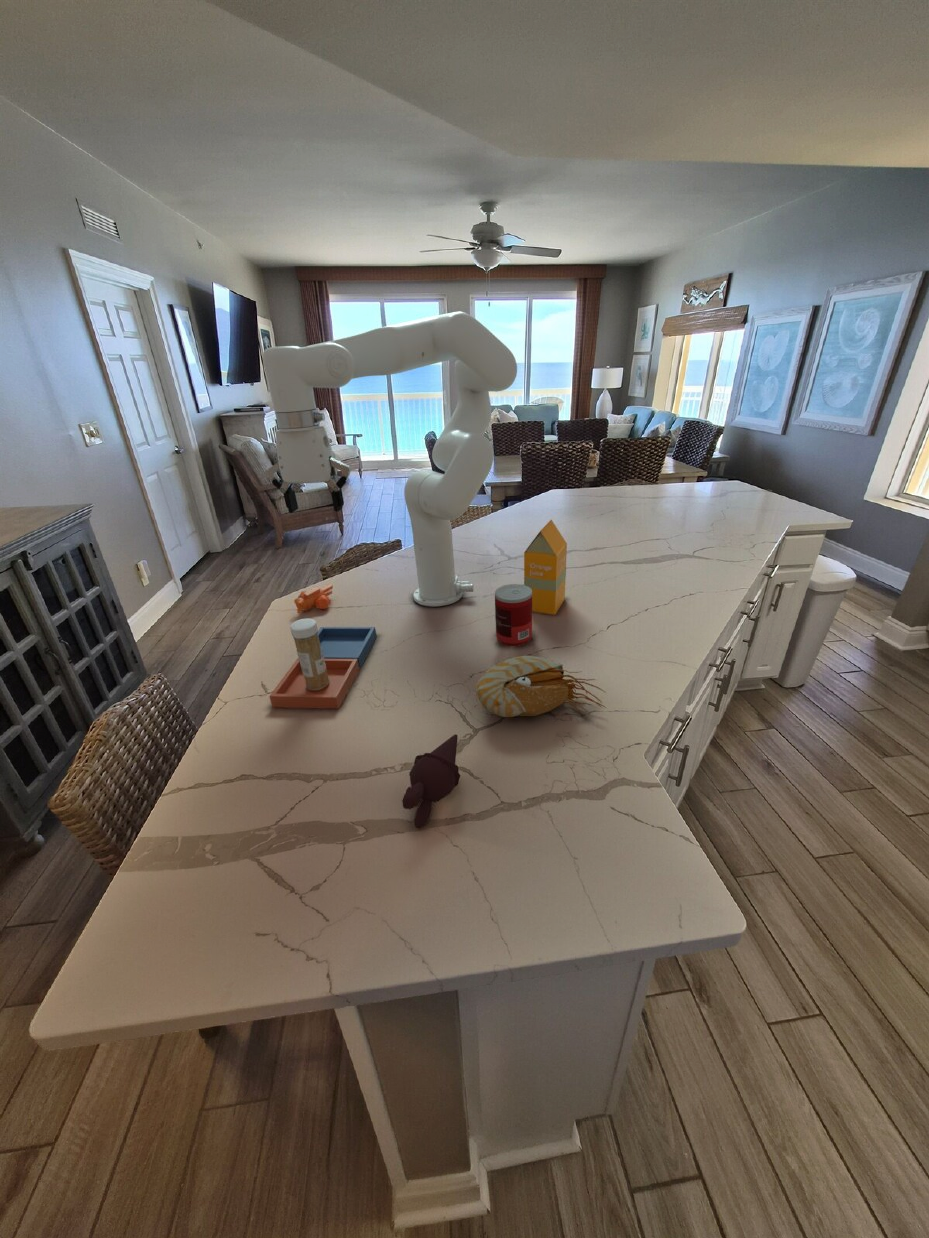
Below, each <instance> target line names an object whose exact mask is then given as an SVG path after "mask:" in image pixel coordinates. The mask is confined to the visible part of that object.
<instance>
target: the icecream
mask: <svg viewBox="0 0 929 1238" xmlns="http://www.w3.org/2000/svg"><path fill="white" fill-rule="evenodd" d="M458 738H459V736H458V734H456V733H455V734H453V735H451V737H449V738H447V739H446V740H445V741H444V742H442V743H441V744H440V745H438V747H436V748H434V749H433V750H432V751H431V752H425V753H424V754H418V755H416V756H415V758H414V762H413V765H412V768H411V769H410V771H409V772H408V776H409V783H410V786H408V787H407V788H406V789H405V793H404V794H403V796H402V800H401V803H402V804H401V805H402V808H403V809H405V810H412V809H414V808H416V807H417V806H418V805H419V806H418V807H417V808H416V809H417V810H416V813H415V816H414V820H413V826H414V828H415V829H419V830H420V829H422V828H424V827H425V826H426V825H427V824H428V822H429V821H430V818H431V815H432V810H433V803H437V802H440V801H441V800H443V799H444V798H445V797H448V796H449V795H450V794H451V793H453V790H454V789H455V788H456V787H458V785H459V783H460V779H461V773H460V768H459V766H458V764H456V759H457V746H458V740H459V739H458Z"/></svg>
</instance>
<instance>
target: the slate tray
mask: <svg viewBox="0 0 929 1238" xmlns="http://www.w3.org/2000/svg"><path fill="white" fill-rule="evenodd" d="M317 632H318V637H319V641H320V646H321V648H322V653H323V657H324V659H358V664H359V669H361V668H362V665H363V664H364V661H365V659H366V658H367V656H368V654H369V653H370V650H371V648H372V647H373V645H374V643H375V641H376V639H377V637H378V636H377V630H376V627H375V626H321V627H319V628H318V631H317Z"/></svg>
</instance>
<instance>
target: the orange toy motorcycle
mask: <svg viewBox="0 0 929 1238" xmlns="http://www.w3.org/2000/svg"><path fill="white" fill-rule="evenodd" d="M333 588H334V586H333V584H331V583H328V584H326V585H324V586H322V587H319V586H315V587H313V588H311V589H310V590H303V591H301V592H300V593H299V595H298V596H297V597H296V598H294V600H293V601H294V604H295V606H296V608H297V610H296V611H297V612H296V613H298V614H300V613H301V612H302V611H304V610H305V611H306V612H308V611H310V610H311V609H313V608H315V607H316V608H318V609H320V610H327V609H328V608H329V605H330V604H331V602H332V601H331V599H330V597H329V596H330V595H332V594H333Z"/></svg>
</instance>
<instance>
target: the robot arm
mask: <svg viewBox="0 0 929 1238" xmlns="http://www.w3.org/2000/svg"><path fill="white" fill-rule="evenodd" d="M262 361H263V365H264V366H263V367H264V370H265V371H264V372H265V375H266V380H267V384H268V388H269V392H270V397H271V401H272V406H273V410H274V415H275V420H276V423H277V430H275V445H276V446H275V447H276V455H277V461H278V462H276V463H275V464H273V465H272V466H270V467H269V468H268V469H266V470H265V472H264V473H265V475H266V476H267V478H268V479H269V480H270V482H271V484H272V485H273V486H274V487H275V488H277V489H278V490H279V493H281V494H283V498H284V503H285V507H286V508H287V510H288V513H289V514H293V513H295V512H296V511H298V510H299V505H298V499H297V496H296V491H295V490H294V489H292V488H293V487H294V484H319V483H326V484H327V486H328V487H330V488H331V490H332V491H331V492H330V494H331V499H332V504H333V510H334V512H340V511H341V510H342V509H343V508H344V505H345V500H344V494H343V488H344V486H345V485H346V483H347V482H348V481H349V477H350V474H351V471H352V466H351V465H348V464H347V463H345V462H342V461H340V460H338V459H336V458H335V456H334V452H333V448H332V444H331V442H330V439H329V435H328V433H327V430H326V428H325V426H320V424H321V422H323V421H326V415H325V413H324V412H319V409H317V405H316V398H315V394H314V389H313V388H318V389H340V388H342V387H345V386H346V385H347V384H350V382H351V380H354V379H359V378H365V377H377V376H378V377H379V376H391V375H397V374H401V373H405V372H408V371H412V370H416V369H420V368H424V367H428V366H432V365H434V364H435V365H436V364H438V363H442V362H448V361H449V362H451V361H455V363H454V367H453V374H454V375H453V376H454V380H455V384H456V388H457V405H456V407H455V409H454V410H453V413H452V415H451V417H450V419H448V422H447V423H446V425H445V426H444V428H443V430H442V432H441V433H440V435H439V436H438V439H437V440H436V441H435V443H434V446H433V448H432V452H431V457H432V461H433V463H434V465H435V466H436V467H437V468H438V469H439V470H441V471H443V472H444V473H442V472H438V471H434V470H429V469H423V470H417V471H415V472H414V473H412V474H411V475H410V476H409V477H408V478H407V480H406V482H405V485H404V489H403V492H404V493H403V494H404V495H403V496H404V501H405V505H406V509H407V512H408V516H409V520H410V525H411V531H412V541H413V542H412V543H413V550H414V559H415V568H416V569H415V570H416V576H417V585H418V586H417V587H418V588H416V589H415V591H414V592H413V600H414V602H416V603H417V604H419V605H421V606H425V607H435V608H436V607H444V606H448V605H451V604H454V603H456V602H458V601H459V600H460V599H462V597H463V595H464V593H463V592H466V593H471V592H474V584H473V583H470V581H469V580H464V581H462V580H460V579H459V576H458V575H456V569H455V558H454V557H455V555H454V544H453V543H454V541H453V529H452V523H451V521H454V520H456V519H459V518H460V517H462V515H464V513H465V512H466V511H467V510H468V508H469V507H470V506H471V504H472V503H473V501H474V499H475V498H476V496H477V494H478V493H479V491H480V489H481V488H482V486H483V484H484V482H485V481H486V479H487V477H488V476H489V474H490V472H491V470H492V467H493V463H494V457H495V452H494V447H493V444H492V442H491V441H490V440H489V439H488V437H486V436H485V433H486V431H487V430H488V428H489V426H490V424H491V420H492V404H491V398H490V393H489V392H497V393H498V392H504V391H505V390H507V389H509V388H510V387H511V386H512V385H513V384H514V382H515V380H516V378H517V374H518V364H517V361H516V357H515V356H514V354H513V352H512V351H511V349H509V347H507V345H505V344H504V343H503V342H502V341H501V339H499V338H498V337H497V336H495V334H494V333H492V332H491V330H489V328H487V327H486V326H485V325H484V324H483V323H482V322H480V321H479V320H477V318H475V317H474V316H472V315H470V314H468V312H464V311H452V312H449V313H447V312H446V313H442V314H437V315H431V316H426V317H422V318H418V319H414V320H408V321H404V322H399V323H394V324H388V325H385V326H381V327H377V328H375V329H374V328H373V329H371V330H368V331H365V332H362V333H359V334H355V335H351V336H347V337H342V338H338V339H334V340H329V341H324V342H320V343H315V344H310V345H307V346H298V345H284V346H282V345H281V346H270V347H267V348H265V349H264V350H263V352H262ZM338 470H339V471H341V474H340V477H339V478H338V477H337V474H338ZM278 472H280V476H281V478H280V477H279V476H278V474H277V473H278Z"/></svg>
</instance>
